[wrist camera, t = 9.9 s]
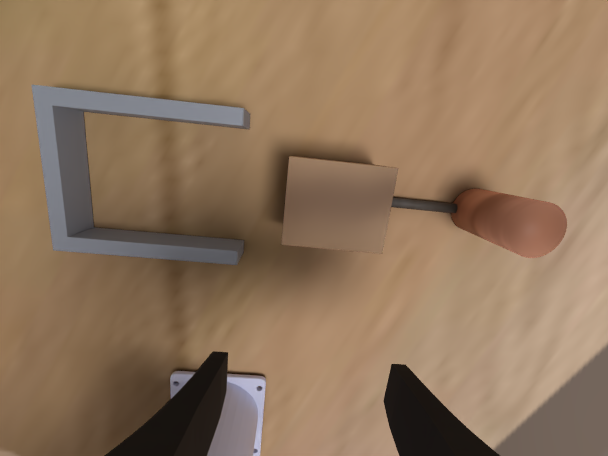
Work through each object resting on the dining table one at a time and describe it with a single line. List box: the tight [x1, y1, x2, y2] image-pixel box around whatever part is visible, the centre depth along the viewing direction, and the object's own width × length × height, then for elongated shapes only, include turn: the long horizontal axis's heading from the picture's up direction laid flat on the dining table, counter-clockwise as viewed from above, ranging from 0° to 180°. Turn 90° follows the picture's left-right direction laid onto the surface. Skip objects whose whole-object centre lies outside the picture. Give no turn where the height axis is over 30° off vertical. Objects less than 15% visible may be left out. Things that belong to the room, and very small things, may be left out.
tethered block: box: [281, 156, 567, 258], centre depth 18 cm, size 5×16×6 cm, turn 84°
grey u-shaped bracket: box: [32, 85, 250, 265], centre depth 19 cm, size 10×12×2 cm
